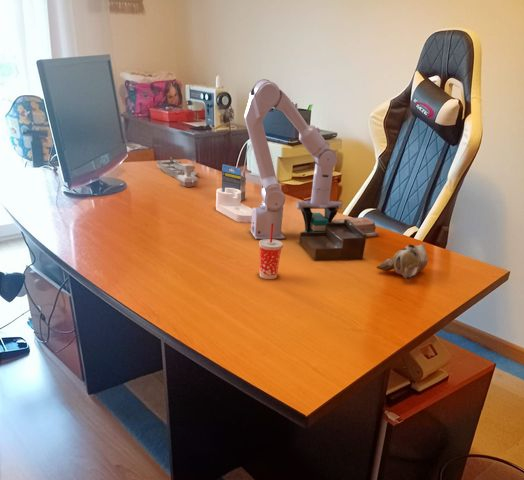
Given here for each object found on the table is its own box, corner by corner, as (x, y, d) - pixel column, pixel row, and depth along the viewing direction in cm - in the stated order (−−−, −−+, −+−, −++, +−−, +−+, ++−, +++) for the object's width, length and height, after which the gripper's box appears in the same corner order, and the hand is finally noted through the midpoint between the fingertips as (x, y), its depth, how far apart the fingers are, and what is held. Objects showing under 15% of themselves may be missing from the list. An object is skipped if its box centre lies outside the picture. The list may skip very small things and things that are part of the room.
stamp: (200, 187, 211) (200, 166, 206) (186, 189, 207) (186, 167, 203) (189, 182, 217) (189, 161, 212) (175, 183, 213) (175, 162, 209)
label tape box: (245, 199, 200) (247, 166, 193) (239, 201, 197) (241, 168, 190) (226, 195, 203) (228, 162, 197) (220, 197, 200) (221, 164, 194)
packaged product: (363, 213, 177) (381, 222, 170) (360, 227, 180) (378, 237, 172) (318, 217, 170) (335, 226, 162) (316, 231, 172) (333, 241, 165)
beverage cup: (272, 282, 133) (276, 229, 126) (252, 276, 136) (255, 223, 129) (283, 275, 138) (289, 223, 131) (264, 269, 140) (268, 218, 133)
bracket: (211, 207, 188) (212, 188, 184) (232, 205, 192) (233, 186, 189) (240, 223, 174) (241, 203, 170) (262, 220, 178) (263, 201, 175)
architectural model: (178, 180, 219) (178, 167, 217) (153, 167, 236) (152, 155, 234) (202, 178, 225) (203, 165, 223) (176, 165, 242) (176, 154, 240)
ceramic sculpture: (441, 243, 142) (412, 258, 133) (435, 273, 147) (406, 288, 138) (408, 233, 148) (377, 246, 139) (403, 261, 153) (373, 276, 144)
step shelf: (314, 260, 149) (318, 235, 145) (299, 243, 161) (301, 219, 157) (362, 259, 153) (366, 234, 149) (343, 242, 165) (347, 219, 161)
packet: (312, 240, 164) (315, 220, 161) (304, 232, 171) (306, 212, 167) (326, 240, 165) (329, 220, 162) (317, 232, 172) (320, 212, 169)
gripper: (303, 191, 155) (298, 235, 162) (348, 191, 159) (341, 234, 166) (296, 185, 161) (292, 228, 168) (339, 185, 164) (333, 227, 171)
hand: (316, 230), depth 167 cm, fingers open, 6 cm apart
